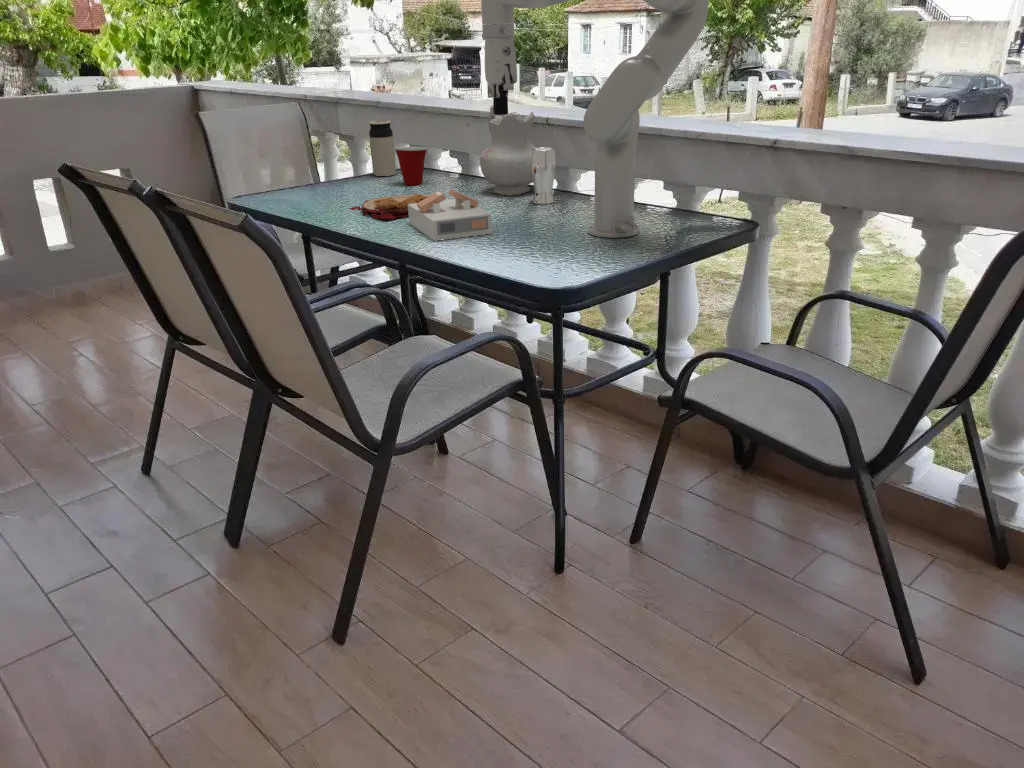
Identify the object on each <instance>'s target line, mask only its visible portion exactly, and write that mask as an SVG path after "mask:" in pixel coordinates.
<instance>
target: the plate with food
mask: <svg viewBox="0 0 1024 768" xmlns="http://www.w3.org/2000/svg"><path fill="white" fill-rule="evenodd" d="M431 195H432V194H422V193H421V194H420V193H413V194H400V195H398V194H395V195H394V194H393V195H392V196H381V197H378V198H373V199H370V200H369V199H368V200H367V199H366V200H365V201H364V202H363V203H362V204H361V205H359V206H358V205H357V206H353V207H349V208H348V210H350V209H351V210H352V211H355V210H356V211H361V210H363V211H361V212H363V213H359V215H361V214H363V215H366V217H369V216H371V218H372V219H375V220H379V219H380V220H384V221H385V220H395V219H398V218H403V219H404V218H408V217H409V215H408V204H413V203H418V202H420V201H422V200H424V199H425V198H427V197H429V196H431ZM360 206H361V208H360ZM351 210H350V211H351ZM378 213H380V214H378ZM363 215H362V216H363ZM368 215H369V216H368Z"/></svg>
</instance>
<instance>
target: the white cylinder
mask: <svg viewBox="0 0 1024 768" xmlns="http://www.w3.org/2000/svg"><path fill="white" fill-rule="evenodd" d="M531 172H532V178H533V183H532V184H533V188H534V191H533V192H534V193H533V200H532V203H533V204H535V205H550V204H554V203H555V199H554V192H553V190H554V188H553V187H554V186H553V185H554V179H555V174H556V152H555V148H554V147H547V146H544V147H543V146H542V147H541V146H540V147H536V148H533V149H531Z"/></svg>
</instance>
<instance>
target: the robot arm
mask: <svg viewBox="0 0 1024 768" xmlns="http://www.w3.org/2000/svg"><path fill="white" fill-rule="evenodd" d="M570 1H571V0H481V1H480V2H481V3H480V5H481V25H482V26H481V28H482V32H481V33H482V40H483V41H484V75H485V77H484V79H485V81H486V82H487V83H488V84H489V88H490V89H491V93H492V95H491V96H492V99H493V101H492V102H493V103H492V104H493V105H492V106H493V108H494V114H495V115H501V116H503V115H507V114H509V99H508V97H509V91H510V90H511V87H512V86H511V85H515V84H516V83H517V82H518V69H517V66H518V65H517V57H516V56H517V55H516V48H515V47H516V46H515V41H514V40H515V14H514V13H515V12H514V11H515V10H514V8H515V9H542V8H543V9H544V8H547V7H551V6H555V5H558V4H563V3H566V2H570ZM642 1H643V2H644V3H646V4H647V5H649V6H650V7H652V8H653V9H655V10H657V11H659V12H661V13H662V12H663V13H666V16H665V18H664V19H663V21H662V22H661V23H660V25H658V27H657V28H656V29H655V31H654V32H653V33H652V35H651V36H650V38H649V40H648V41H647V42H646V44H645V45H644V46H643V47H642V49H641V50H640V51H639V53H637V54H636V55H635V56H631V57H628V58H626V59H624V60H623V61H621V62H619V64H618V65H617V66H616V67H615V68H614V69H613V71H612V72H611V73H610V75H609V76H608V78H607V79H606V80H605V81H604V83H603V84H602V86H601V88H600V89H599V90H598V92H597V93H596V95H595V96H594V98H593V99H592V100H591V101H590V103H589V105H588V107H587V109H586V110H585V113H584V115H583V123H582V124H583V129H584V132H585V135H586V136H587V137H588V139H590V140H591V141H592V142H593V143H596V148H595V158H594V159H595V160H594V202H593V203H594V205H593V206H594V208H593V209H594V210H593V211H594V212H593V213H594V215H593V218H594V220H593V223H592V224H590V225H588V226H587V233H588V234H589V235H592V236H594V237H599V238H605V239H606V238H607V239H608V238H609V239H610V238H612V239H619V238H620V239H621V238H629V237H633V236H636V235H638V234H639V233H640V227H639V226H638V224H637V223H636V222H635V215H634V211H635V209H634V208H635V184H636V183H635V182H636V181H635V180H636V165H637V164H636V163H637V162H636V161H637V144H638V138H639V131H640V123H641V120H640V119H641V117H640V111H639V110H640V109H641V108H642V106H643V105H644V104H645V102H646V101H649V100H651V99H653V98H655V97H656V96H657V95H658V94H660V92H661V91H662V89H663V88H664V86H665V85H666V84H667V82H668V80H669V79H670V77H672V76H673V75H672V74H674V72H675V71H676V70H677V68H678V67H679V65H680V64H681V62H682V61H683V60H684V58H685V56H686V55H687V53H688V52H689V51H690V50H691V48H692V47H693V46H694V44H695V42H696V41H697V40H698V38H699V36H700V35H701V33H702V31H703V28H704V26H705V24H706V21H707V16H708V12H709V11H708V10H709V0H642Z"/></svg>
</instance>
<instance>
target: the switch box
mask: <svg viewBox="0 0 1024 768" xmlns="http://www.w3.org/2000/svg"><path fill="white" fill-rule="evenodd" d="M408 223H409V224H410V225H411V226H413V227H414V228H415V229H417V230H418V231H420V233H422V234H423V233H424V234H423V235H425V234H426V235H427V236H428V238H429V237H430V238H431V239H430V238H429V239H430V240H432V239H433V240H441V239H449V240H451V239H450V238H457V239H461V238H460V237H465V238H470V237H469V236H473V237H478V236H477V235H481V236H486V235H485V234H489V235H493V226H492V225H493V224H492V223H493V222H492V213H490V212H488V211H486V210H485V209H483V208H481V207H479V206H477V207H476V206H473V205H471V204H470V200H467V201H463V203H462V202H460V201H458V200H457V198H455V197H454V198H452V199H445V200H444V201H442V202H440V203H438V204H433V207H432V208H430V209H428V210H426V211H425V212H423V211H422V210H420V209H419V208H418V206H417V203H413V204H408ZM426 235H425V236H426ZM427 236H426V237H427ZM433 240H432V241H433Z"/></svg>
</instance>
